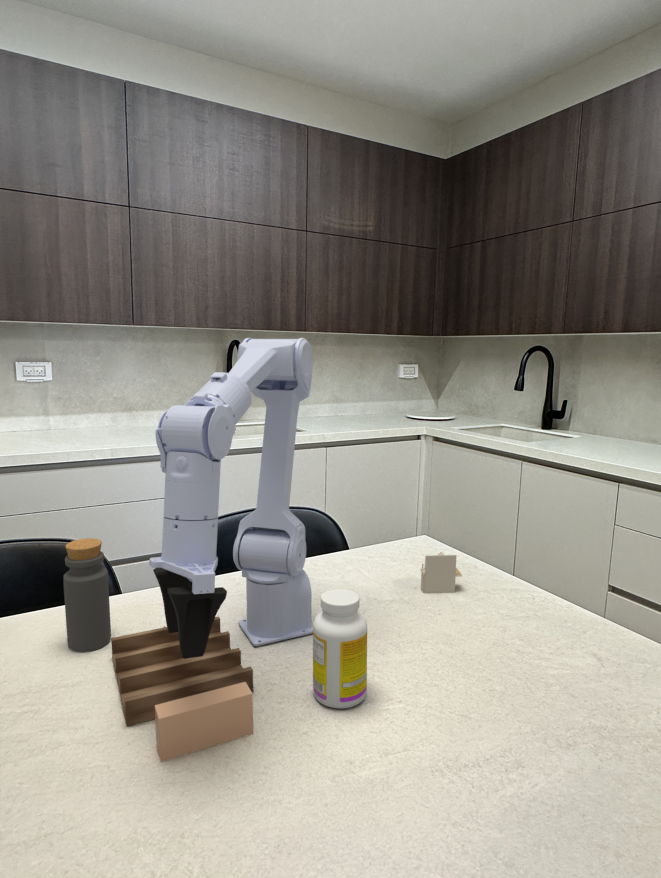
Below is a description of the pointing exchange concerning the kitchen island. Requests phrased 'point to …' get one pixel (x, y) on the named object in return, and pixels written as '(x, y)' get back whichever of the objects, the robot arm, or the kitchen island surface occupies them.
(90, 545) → the bottle
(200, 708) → the peach rectangular block
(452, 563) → the architectural model
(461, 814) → the kitchen island surface
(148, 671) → the rack
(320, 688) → the supplement bottle
